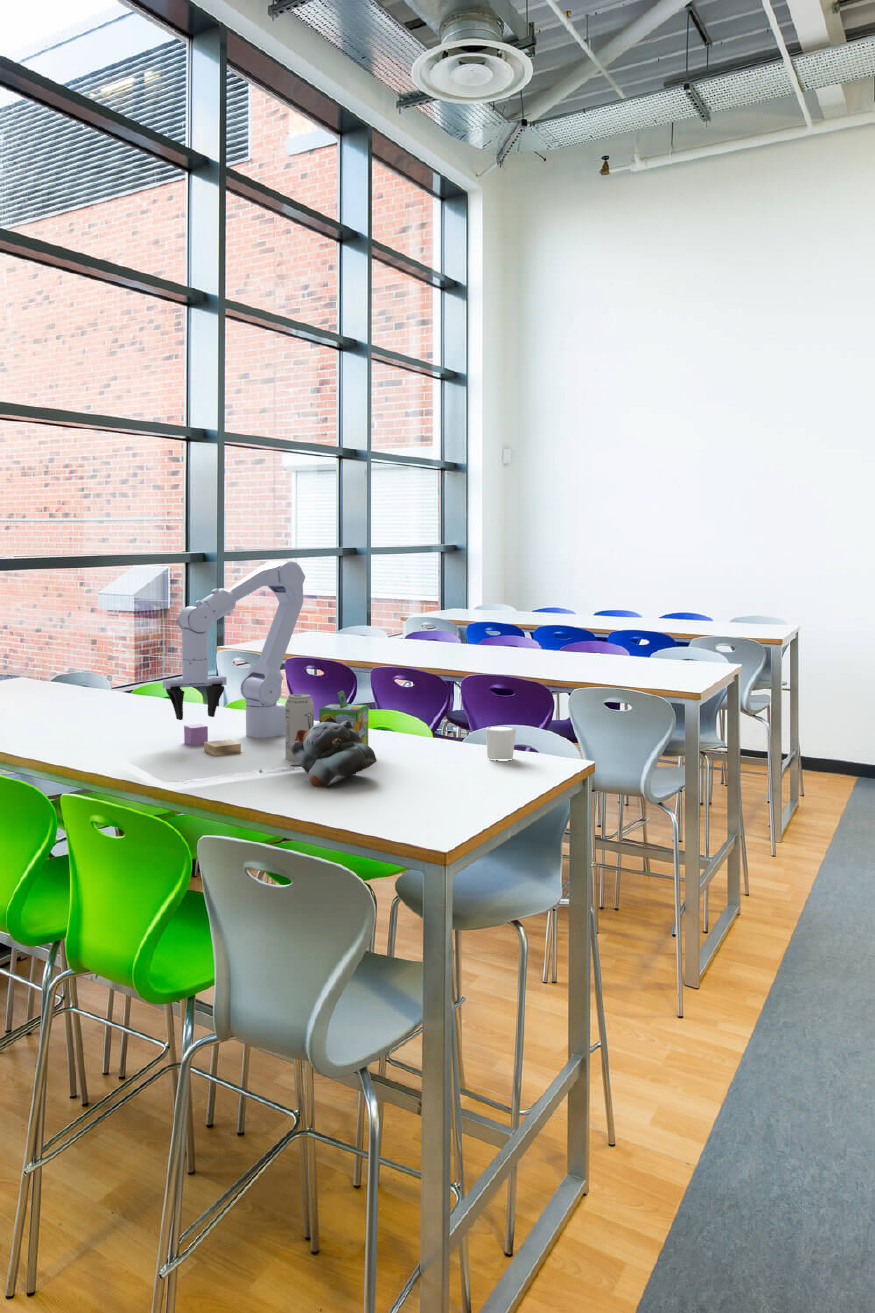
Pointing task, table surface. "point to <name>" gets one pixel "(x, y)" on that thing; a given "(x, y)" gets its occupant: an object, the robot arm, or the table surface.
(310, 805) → the table surface
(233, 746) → the oak tile
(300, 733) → the grey stuffed animal
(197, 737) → the purple block
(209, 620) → the robot arm
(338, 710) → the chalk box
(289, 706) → the energy drink can
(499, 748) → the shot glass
